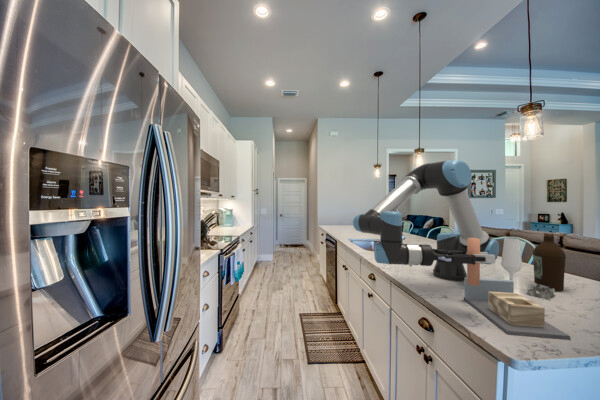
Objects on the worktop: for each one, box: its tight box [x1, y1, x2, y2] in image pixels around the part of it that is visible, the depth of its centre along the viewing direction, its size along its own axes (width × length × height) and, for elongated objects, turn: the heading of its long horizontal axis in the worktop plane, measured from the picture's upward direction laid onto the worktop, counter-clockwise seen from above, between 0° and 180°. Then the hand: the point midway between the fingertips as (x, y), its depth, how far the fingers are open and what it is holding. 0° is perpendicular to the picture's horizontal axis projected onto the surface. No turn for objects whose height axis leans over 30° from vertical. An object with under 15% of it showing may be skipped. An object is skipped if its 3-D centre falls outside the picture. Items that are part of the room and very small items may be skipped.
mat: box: [463, 297, 571, 340], centre depth 84 cm, size 26×16×1 cm, turn 171°
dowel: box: [466, 238, 481, 286], centre depth 86 cm, size 4×4×16 cm
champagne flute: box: [500, 237, 523, 282], centre depth 102 cm, size 7×7×24 cm
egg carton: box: [525, 282, 556, 300], centre depth 104 cm, size 11×8×4 cm
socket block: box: [488, 292, 546, 327], centre depth 81 cm, size 12×9×6 cm
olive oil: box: [532, 232, 567, 292], centre depth 113 cm, size 11×11×25 cm
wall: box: [463, 277, 515, 301], centre depth 95 cm, size 2×16×8 cm, turn 81°
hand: (490, 257), depth 85 cm, fingers closed on dowel, 3 cm apart
